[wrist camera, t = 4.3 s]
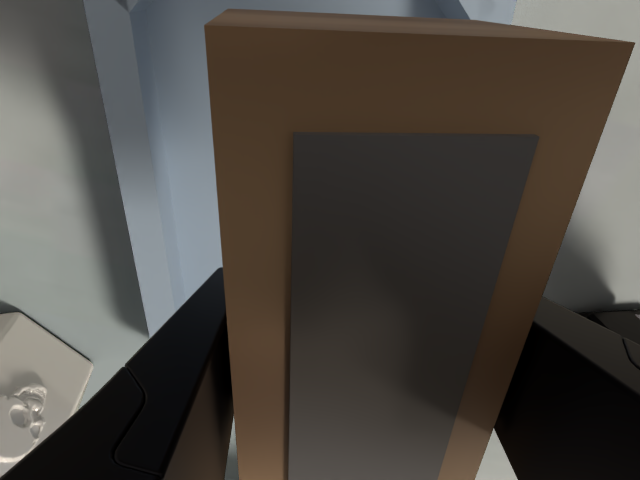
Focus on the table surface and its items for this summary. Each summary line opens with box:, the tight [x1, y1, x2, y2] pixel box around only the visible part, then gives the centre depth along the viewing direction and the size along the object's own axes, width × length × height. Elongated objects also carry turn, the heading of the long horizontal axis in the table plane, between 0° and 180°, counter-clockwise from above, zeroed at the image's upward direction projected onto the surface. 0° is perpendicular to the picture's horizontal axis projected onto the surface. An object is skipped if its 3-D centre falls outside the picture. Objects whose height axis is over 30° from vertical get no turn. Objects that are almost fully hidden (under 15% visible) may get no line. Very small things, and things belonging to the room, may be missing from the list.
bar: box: [204, 9, 635, 480], centre depth 9 cm, size 10×4×4 cm, turn 177°
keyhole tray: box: [83, 0, 517, 338], centre depth 16 cm, size 26×13×3 cm, turn 177°
